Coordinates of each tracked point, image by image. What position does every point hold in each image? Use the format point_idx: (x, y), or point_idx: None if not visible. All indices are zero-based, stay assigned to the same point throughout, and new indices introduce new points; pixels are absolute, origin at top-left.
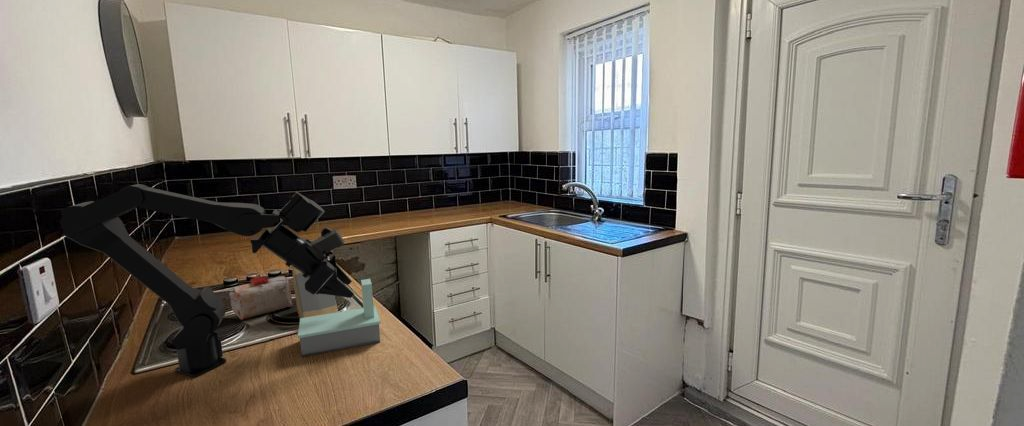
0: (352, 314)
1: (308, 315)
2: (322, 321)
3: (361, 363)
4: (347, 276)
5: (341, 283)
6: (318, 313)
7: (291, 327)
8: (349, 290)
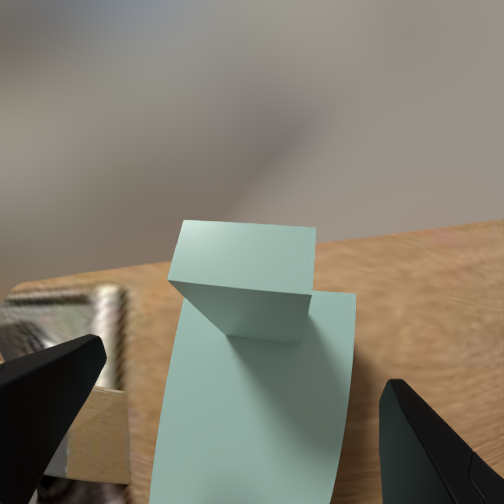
0: (220, 380)
1: (80, 468)
2: (225, 493)
3: (433, 384)
4: (62, 348)
5: (489, 470)
6: (80, 442)
7: (87, 494)
8: (428, 406)
